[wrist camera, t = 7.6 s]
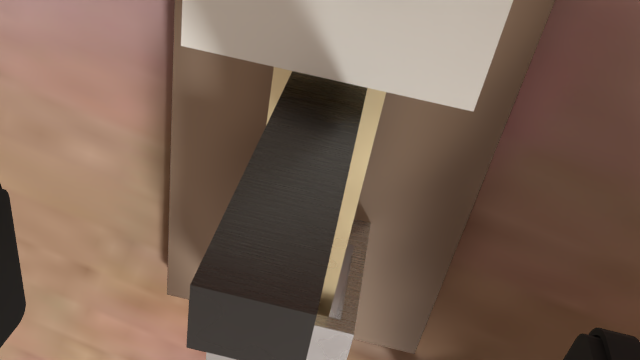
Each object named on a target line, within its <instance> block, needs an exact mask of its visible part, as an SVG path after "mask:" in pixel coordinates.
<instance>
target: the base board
mask: <svg viewBox="0 0 640 360" xmlns="http://www.w3.org/2000/svg"><path fill="white" fill-rule="evenodd" d="M554 2H555V0H513V3H512V6H511V8H510V11H509V14H508V17H507V20H506V22H505V25H504V28H503V31H502V34H501V36H500V39H499V42H498V45H497V48H496V50H495V53H494V56H493V59H492V62H491V64H490V67H489V70H488V73H487V76H486V78H485V81H484V84H483V87H482V90H481V92H480V95H479V98H478V101H477V104H476V106H475V109H474V112H473V111H468V110H464V109H459V108H455V107H450V106H446V105H441V104H437V103H433V102H428V101H424V100H419V99H415V98H410V97H406V96H402V95H397V94H393V93H388V92H386V95H385V99H384V103H383V107H382V111H381V115H380V119H379V123H378V127H377V131H376V134H375V138H374V142H373V146H372V150H371V154H370V158H369V162H368V166H367V170H366V174H365V177H364V181H363V185H362V189H361V193H360V197H359V201H358V205H357V209H356V213H355V217H354V219H356V220H360V221H364V222H368V223H371V225H370V232H369V238H368V245H367V252H366V258H365V265H364V272H363V278H362V285H361V292H360V298H359V305H358V312H357V318H356V325H355V332H354V336H353V339H354V340H358V341H363V342H367V343H371V344H375V345H379V346H383V347H387V348H392V349H396V350H400V351H404V352H408V353H412V354H415V351H416V349H417V346H418V344H419V341H420V339H421V336H422V334H423V331H424V329H425V326H426V324H427V321H428V319H429V316H430V314H431V311H432V309H433V306H434V304H435V301H436V299H437V296H438V294H439V291H440V288H441V286H442V283H443V281H444V278H445V276H446V273H447V271H448V268H449V266H450V263H451V261H452V258H453V256H454V253H455V251H456V248H457V246H458V243H459V241H460V238H461V236H462V233H463V231H464V228H465V226H466V223H467V221H468V218H469V216H470V213H471V211H472V208H473V206H474V203H475V201H476V198H477V196H478V193H479V191H480V188H481V186H482V183H483V181H484V178H485V176H486V173H487V170H488V168H489V165H490V163H491V160H492V158H493V155H494V153H495V150H496V148H497V145H498V143H499V140H500V138H501V135H502V133H503V130H504V128H505V125H506V123H507V120H508V118H509V115H510V113H511V110H512V108H513V105H514V103H515V100H516V98H517V95H518V93H519V90H520V88H521V85H522V83H523V80H524V78H525V75H526V73H527V70H528V68H529V65H530V63H531V60H532V58H533V55H534V53H535V50H536V47H537V45H538V42H539V40H540V37H541V35H542V32H543V30H544V27H545V25H546V22H547V20H548V17H549V15H550V12H551V10H552V7H553V5H554ZM181 28H182V0H175V5H174V44H173V83H172V122H171V161H170V200H169V239H168V278H167V294H168V295H172V296H176V297H180V298H184V299H188V300H189V296H190V284H191V282H192V280H193V278H194V276H195V274H196V272H197V270H198V267H199V265H200V263H201V261H202V259H203V257H204V255H205V253H206V251H207V249H208V247H209V244H210V242H211V240H212V238H213V236H214V234H215V232H216V230H217V228H218V226H219V224H220V221H221V219H222V217H223V215H224V213H225V211H226V209H227V207H228V205H229V203H230V201H231V198H232V196H233V194H234V192H235V190H236V188H237V186H238V184H239V182H240V180H241V178H242V175H243V173H244V171H245V169H246V167H247V165H248V163H249V161H250V159H251V157H252V154H253V152H254V150H255V148H256V146H257V144H258V142H259V140H260V138H261V136H262V134H263V131H264V129H265V127H266V123H267V116H268V108H269V100H270V93H271V85H272V78H273V70H274V67H273V66H268V65H264V64H259V63H255V62H251V61H246V60H242V59H237V58H233V57H228V56H224V55H219V54H215V53H211V52H206V51H202V50H197V49H193V48H188V47H184V46H181Z"/></svg>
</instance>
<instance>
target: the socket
mask: <svg viewBox="0 0 640 360" xmlns="http://www.w3.org/2000/svg"><path fill="white" fill-rule="evenodd" d="M512 3H513V0H182V28H181V46H184V47H188V48H193V49H197V50H202V51H206V52H211V53H215V54H219V55H224V56H228V57H233V58H237V59H242V60H246V61H251V62H255V63H259V64H264V65H268V66H273V67H277V68H282V69H286V70H290V71H295V72H299V73H304V74H308V75H313V76H317V77H322V78H326V79H330V80H335V81H339V82H344V83H348V84H353V85H357V86H362V87H366V88H370V89H375V90H379V91H384V92H388V93H393V94H397V95H402V96H406V97H410V98H415V99H419V100H424V101H428V102H433V103H437V104H441V105H446V106H450V107H455V108H459V109H464V110H468V111H473V112H474V109H475V106H476V104H477V101H478V98H479V95H480V92H481V90H482V87H483V84H484V81H485V78H486V76H487V73H488V70H489V67H490V64H491V62H492V59H493V56H494V53H495V50H496V48H497V45H498V42H499V39H500V36H501V34H502V31H503V28H504V25H505V22H506V20H507V17H508V14H509V11H510V8H511V6H512Z"/></svg>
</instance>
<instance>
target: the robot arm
mask: <svg viewBox="0 0 640 360" xmlns="http://www.w3.org/2000/svg"><path fill="white" fill-rule="evenodd" d="M25 307H26V301H25V295H24V289H23V282H22V276H21V269H20V263H19V256H18V250H17V243H16V237H15V231H14V224H13V218H12V211H11V205H10V198H9V194H8V192H7V191H6V190H4V189H2V187H1V184H0V347H1V346H2V345H3V344H4V342H5V341H6V340H7V339H8V337H9V336H10V335H11V333H12V332H13V331H14V330H15V328H16V327H17V326H18V324H19V323H20V321H21V319H22V317H23V315H24V312H25ZM563 360H640V342H639V340H638V339H637V338H636V337H634V336H630V335H626V334H622V333H618V332H614V331H610V330H606V329H602V328H595V329H593V330H592V331H591V332H590V333H589V335H587V334H580V335H579V336H578V337H577V338H576V340H575V341H574V343H573V344H572V346H571V348H570V349H569V351H568V353H567V354H566V356H565V358H564V359H563Z"/></svg>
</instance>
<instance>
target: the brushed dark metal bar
mask: <svg viewBox="0 0 640 360" xmlns="http://www.w3.org/2000/svg"><path fill="white" fill-rule="evenodd" d="M385 95H386V92H384V91H379V90H375V89H370V88H366V87H362V86H357V85H353V84H348V83H344V82H339V81H335V80H330V79H326V78H322V77H317V76H313V75H308V74H304V73H299V72H295V71H290V70H286V69H282V68H277V67H274V70H273V78H272V85H271V93H270V100H269V108H268V116H267V123H266V127H265V129H264V131H263V134H262V136H261V138H260V140H259V142H258V144H257V146H256V148H255V150H254V152H253V154H252V157H251V159H250V161H249V163H248V165H247V167H246V169H245V171H244V173H243V175H242V178H241V180H240V182H239V184H238V186H237V188H236V190H235V192H234V194H233V196H232V198H231V201H230V203H229V205H228V207H227V209H226V211H225V213H224V215H223V217H222V219H221V221H220V224H219V226H218V228H217V230H216V232H215V234H214V236H213V238H212V240H211V242H210V244H209V247H208V249H207V251H206V253H205V255H204V257H203V259H202V261H201V263H200V265H199V267H198V270H197V272H196V274H195V276H194V278H193V280H192V282H191V284H190V296H189V314H188V331H187V348H191V349H195V350H199V351H203V352H207V353H212V354H216V355H220V356H224V357H228V358H232V359H236V360H306V358H307V354H308V350H309V346H310V342H311V337H312V333H313V329H314V325H315V321H316V316H317V314H319V315H323V316H328V317H329V314H330V310H331V306H332V302H333V299H334V295H335V291H336V287H337V283H338V279H339V275H340V271H341V267H342V263H343V260H344V256H345V252H346V248H347V244H348V240H349V236H350V232H351V228H352V224H353V220H354V217H355V213H356V209H357V205H358V201H359V197H360V193H361V189H362V185H363V181H364V177H365V174H366V170H367V166H368V162H369V158H370V154H371V150H372V146H373V142H374V138H375V134H376V131H377V127H378V123H379V119H380V115H381V111H382V107H383V103H384V99H385Z"/></svg>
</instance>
